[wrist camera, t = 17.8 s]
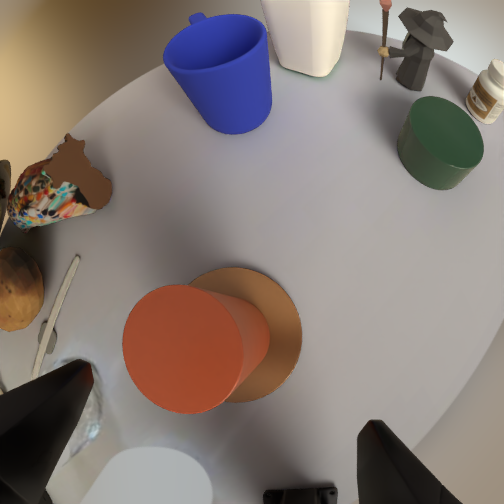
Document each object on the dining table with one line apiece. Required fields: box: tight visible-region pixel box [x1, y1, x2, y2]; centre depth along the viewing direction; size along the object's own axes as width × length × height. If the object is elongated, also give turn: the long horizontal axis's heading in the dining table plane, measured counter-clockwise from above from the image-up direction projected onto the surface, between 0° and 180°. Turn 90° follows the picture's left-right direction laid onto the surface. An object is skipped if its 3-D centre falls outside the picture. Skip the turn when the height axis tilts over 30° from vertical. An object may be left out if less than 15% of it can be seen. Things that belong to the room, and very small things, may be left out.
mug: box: [163, 13, 272, 134], centre depth 23 cm, size 8×12×10 cm
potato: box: [0, 247, 44, 332], centre depth 24 cm, size 8×14×8 cm
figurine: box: [7, 133, 112, 233], centre depth 26 cm, size 9×9×15 cm
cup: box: [261, 0, 350, 77], centre depth 20 cm, size 7×7×15 cm
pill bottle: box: [466, 59, 504, 124], centre depth 19 cm, size 4×4×8 cm
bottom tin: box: [397, 96, 484, 190], centre depth 20 cm, size 8×8×4 cm
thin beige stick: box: [32, 256, 80, 380], centre depth 26 cm, size 18×1×3 cm
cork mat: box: [188, 267, 302, 403], centre depth 22 cm, size 11×11×1 cm
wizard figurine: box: [377, 0, 453, 91], centre depth 19 cm, size 8×6×12 cm
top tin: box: [122, 285, 270, 414], centre depth 17 cm, size 6×6×10 cm
